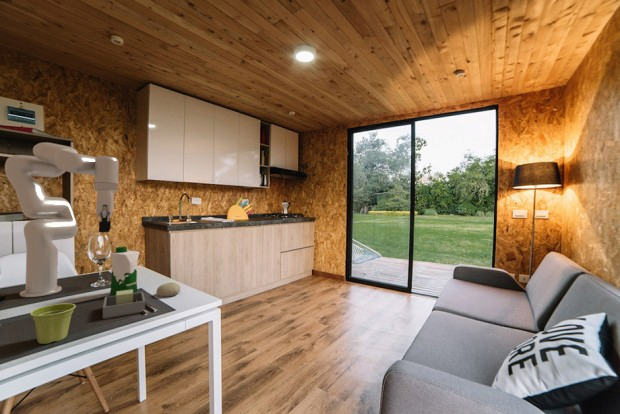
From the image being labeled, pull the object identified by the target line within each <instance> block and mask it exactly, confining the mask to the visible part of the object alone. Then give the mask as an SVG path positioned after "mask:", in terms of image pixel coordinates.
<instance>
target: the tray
mask: <svg viewBox="0 0 620 414" xmlns="http://www.w3.org/2000/svg"><path fill="white" fill-rule="evenodd" d="M136 300H137V301H139V302H133V303H126V304H120V305H116V295H110V296H109V295H108V296H104V301H103V306H102V320H107V319H113V318H118V317H123V316H129V315H130V316H131V315H136V314H142V313H143V312H142V311H143V310H145V311H146V299H145V294H144V291H139V292H138V291H137V292H134V293H133V301H136ZM141 312H142V313H141Z"/></svg>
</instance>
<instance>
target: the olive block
mask: <svg viewBox="0 0 620 414" xmlns="http://www.w3.org/2000/svg"><path fill="white" fill-rule="evenodd" d="M115 296H116V305H120V304H126V303H133V289H132V290H124V291H117V294H116V295H115Z"/></svg>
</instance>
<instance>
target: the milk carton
mask: <svg viewBox="0 0 620 414" xmlns="http://www.w3.org/2000/svg"><path fill="white" fill-rule="evenodd" d="M127 248H128V247H127V246H117V247H115V251H113V252H110V253H109V256H110V259H111V276H110V277H111V279H110V281H111V282H110V283H111V284H110V289H109V291H110V292H109V295H110V296H116V294H117V291H124V290H132V289H133V293H138V282H137V279H138V271H137V270H138V261H139V260H138V259H139V256H140V251H136V250H128V249H127Z"/></svg>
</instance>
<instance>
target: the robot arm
mask: <svg viewBox="0 0 620 414" xmlns="http://www.w3.org/2000/svg"><path fill="white" fill-rule="evenodd" d="M32 153H33V155H25V154H15V155H10V156H9V157H7V159H6V161H5V164H4V172H5V175H6V177H7V180H8V182H9V183H10V185H12V187H13V189H14V191H15V194H16V197H17V200H18V203H19V206H20V207H21V211H22V214H23V215H24V216H25V217H27V218H31V219H33V220H30V221H27V222H26V223H25V224H24V226H23V234H24V239H25V246H26V252H25V253H26V257H25V259H26V261H25V263H26V264H25V289H24V290H22V291H20V292H19V296H20V297H22V298H36V297H43V296H48V295H53V294H57V293H59V292H61V291H62V286H60V285H58V259H59V256H58V255H59V250H58V248H57V246H56V245H55V244H54V243H53V241H58V240H68V239H72V238H74V237H76V236H77V234H78V231H79V228H78V222H77V220H76V216H75V214H74V211H73V209H72V205H71V204H70V201H68V200H67V199H65V198H63V197H60V196H48V195H47V194H46V193H45V190H44V187H43V186H42V184H41V183H40V182H39V181H38V180H37V179H35V178H33V177H43V178H57V177H60V176H62V175H63V174H65V173H66V172H68V173H73V174H80V175H87V176H88V175H90V176H94V179H93V182H94V183H93V192H96V202H95V203H96V205H95V216H96V217H99V221H98V232H99V233H110V230H111V228H112V227H111V226H112V225H111V221H112V220H111V216H113V212H114V204H115V201H114V200H115V193H119V169H120V168H119V166H120V165H119V164H120V162H119V159H118V158H117V157H113V156H109V155H108V156H107V155H99V156H91V155H86V154H82V153H79V152H78V151H77V150H76V149H75V148H73V147H71V146H67V145H63V144H58V143H53V142H39V143H37V144H36V145H34V146H33V148H32Z"/></svg>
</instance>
